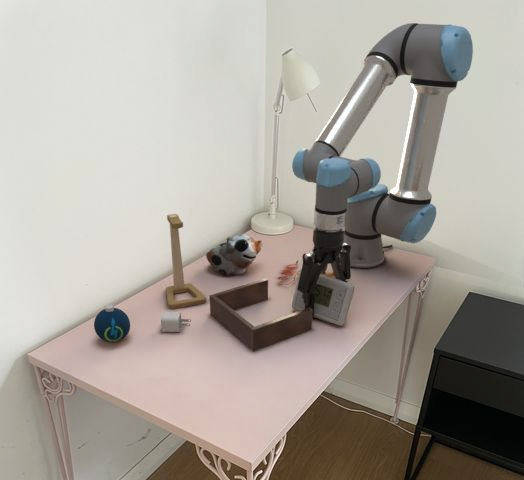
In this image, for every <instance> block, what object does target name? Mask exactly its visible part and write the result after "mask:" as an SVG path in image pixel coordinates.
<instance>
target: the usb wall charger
mask: <svg viewBox="0 0 524 480" xmlns="http://www.w3.org/2000/svg"><path fill="white" fill-rule="evenodd" d="M191 322H192V318H182V312H176V311H175V312H174V311H172V312H171V311H170V312H169V311H163V312H162V315H161V318H160V324H161V325H160V326H161V332H162V333H180V332H181V330H182V327H190V326H191V324H190V323H191Z"/></svg>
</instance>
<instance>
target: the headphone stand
mask: <svg viewBox="0 0 524 480" xmlns="http://www.w3.org/2000/svg"><path fill="white" fill-rule="evenodd" d="M166 219H167V222H168V223H169V235H170V249H171V263H172V265H171V266H172V279H173V280H172V281H173V285H169V286H166V287H165V295H166V302H167V307H168V309H171V310H175V309H181V308H185V307H192V306H197V305H203V304H205V303H206V301H207V298H206V296H205V295H204V294H203V293H202V292H201V291H200V290H199V289H198V288H196V286H195V285H193V283H189V282H186V283H185V277H184V269H183V268H184V267H183V258H182V249H181V240H180V231H179V229H182V228H183V227H184V221H182V220H181V218H180V216H179V215H178V214H177V213H172V214H167V216H166ZM182 293H190V294H191V295H192V296H193V297H192V298H186V299H181V300H175V296H174V295H176V294H182Z"/></svg>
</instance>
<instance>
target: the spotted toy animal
mask: <svg viewBox="0 0 524 480" xmlns="http://www.w3.org/2000/svg"><path fill="white" fill-rule="evenodd" d="M263 245H264V244H263V243H262V240H255V238H253V237H251V236H249V235H247V234H236V235H232V236H228V237H226V242H223V243H219V244H217V245H216V246H214V247H212V248H211V249H210V250H208V251H207V252H206V254H205V257H206V260H207V261H208V263H209V264H210V266H211V267H212V269H214V270H215V271H216V272H218V273H219V274H221V273H222V274H223V275H224V276H226V277H231V276H239V275H243V274H244V273H245V272H246V271H247V270H248V267H249V266H250V265H252V264H253V262H254V261H255V260H256V258H257V256H258V255H259V253H260V252H261V251H262V248H263Z"/></svg>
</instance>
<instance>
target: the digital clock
mask: <svg viewBox="0 0 524 480" xmlns="http://www.w3.org/2000/svg"><path fill="white" fill-rule="evenodd" d="M301 270H302V268H301V269H300V270H299V271H300V272H298V274H299V275H298V278H297V282H296V286H295V290H294V294H293V298H292V302H291V307H292V309H294V310H296V311H297V312H298V311H301V310H304V309H305V304H304V302H303V301H304V294H303V293H301V292H300V291H298V290H297V288H298V284H299V279H300V274H301ZM354 292H355V285H354V284H352V283H350V282H348V281H347V282H344V281H341V280H340V279H337V278H335V277H334V276H333V277H330V276H327V275H324V274H320V276H319V278H318V281H317V283H316V285H315V288H314V290H313V293H314V294H315V301H314V315H313V317H312V318H315V319H317V320H320V321H323V322H326V323H329V324H334V325H337V326H339V327H340V326H344V325H345V324H346V320H347V316H348V314H349V309H350V306H351V302H352V299H353V295H354Z"/></svg>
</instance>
